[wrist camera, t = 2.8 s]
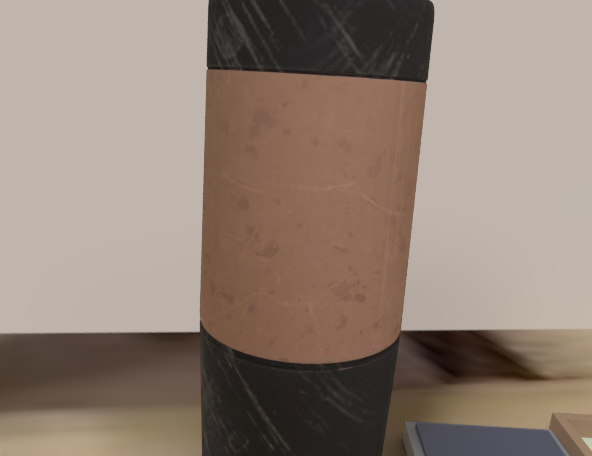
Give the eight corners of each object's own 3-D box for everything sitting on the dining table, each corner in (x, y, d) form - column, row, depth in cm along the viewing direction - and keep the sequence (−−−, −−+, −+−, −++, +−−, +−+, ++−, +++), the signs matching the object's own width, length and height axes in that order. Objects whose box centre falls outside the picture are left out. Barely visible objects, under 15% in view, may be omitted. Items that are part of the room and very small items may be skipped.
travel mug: (346, 615, 19) (414, -24, 14) (158, 535, 21) (156, -21, 16) (396, 476, 26) (453, 17, 20) (249, 429, 28) (267, 14, 23)
